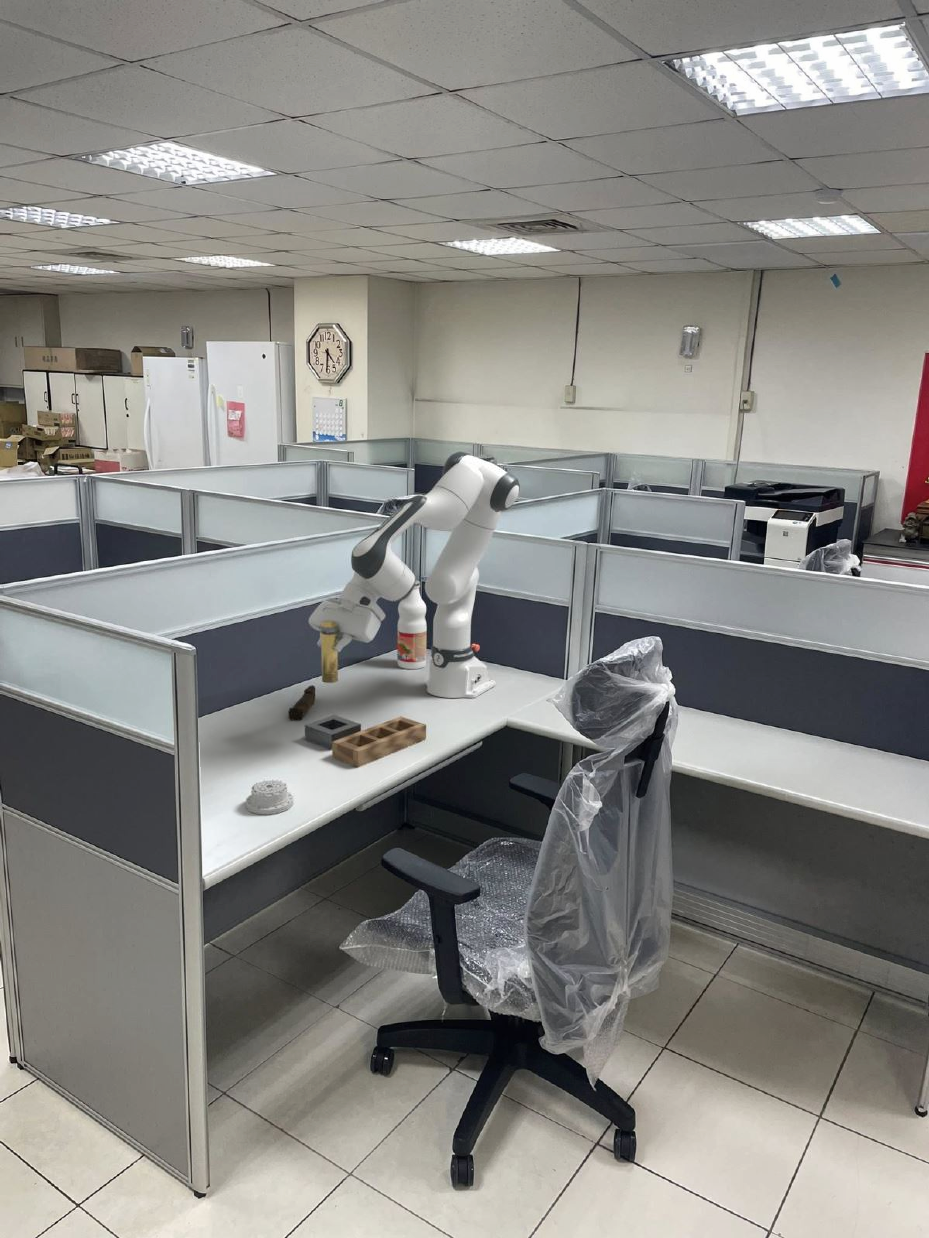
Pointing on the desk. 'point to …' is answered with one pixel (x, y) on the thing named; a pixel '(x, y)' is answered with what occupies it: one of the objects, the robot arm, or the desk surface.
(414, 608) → the fruit juice
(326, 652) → the gold capped cylinder
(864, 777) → the desk surface
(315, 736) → the socket block
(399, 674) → the desk surface
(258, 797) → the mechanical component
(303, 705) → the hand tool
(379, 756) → the wooden compartment tray
